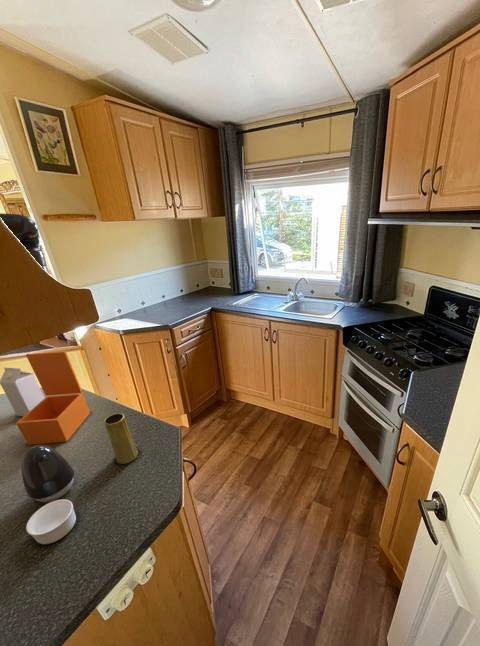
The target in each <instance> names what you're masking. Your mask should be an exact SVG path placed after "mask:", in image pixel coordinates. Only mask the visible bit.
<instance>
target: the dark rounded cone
mask: <svg viewBox="0 0 480 646" xmlns="http://www.w3.org/2000/svg"><path fill="white" fill-rule="evenodd" d="M21 476H22V478H21V479H22V482H23V483H22V484H23V486H24V490H25V492H26V495H27V496H28V497H29V498H31V499H33V500H35V501H36V502H40V503H50V502H53V501H56V500H59V499H60V498H61V497H63V496H64V495H66V494H67V493H68V492H69V491H70V489H71V488H72V485H73V483H74V479H75V478H74V477H75V471H74V468H73V467H72V465H71V464H70V462H69V461H68V460H67V459H66V458H65V457H64V456H63V455H62V454H61V453H59V451H58V450H55V449H54V448H52V447H51V446H48V445H46V444H36V445H34V446H31V447H30V448H28V449H27V451H26V452H25V453H24V454H23V457H22V461H21Z"/></svg>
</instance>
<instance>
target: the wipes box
mask: <svg viewBox="0 0 480 646" xmlns="http://www.w3.org/2000/svg"><path fill="white" fill-rule="evenodd" d="M90 414H91V412H90V409H89V407H88V404H87V402H86V399H85V397H84V394H83V393H74V394H62V395H49V396H45V397H44V399H43V400H42V401H41V402H40V403H39V404H38V405H36V406H35V407H34V408H33V409H32V410H31V411H30V412H28V413H27V414H26V415H25V416H22V417H21V418H20V419H19V420H18V421H17V422H16V423H15V425H16V427H18V430H19V431H20V433H21V436H22V437H23V439H24V441H25V443H26V444H27V445H28V446H29V445H43V444H52V443H54V444H55V443H64V442H68V441H69V440H70V438H71V437H72V436H73V435H74V434H75V433H76V432H77V430H78V429H79V427H80V426H81V425H82V424H83V423H84V422H85V420H86V419H87V418H88V416H89V415H90Z"/></svg>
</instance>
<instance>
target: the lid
mask: <svg viewBox="0 0 480 646" xmlns="http://www.w3.org/2000/svg"><path fill="white" fill-rule="evenodd" d="M25 356H26V359H27V360H28V363H29V364H30V366H31V369H32V371H33V372H34V373H33V374H34V376H35V378H36V380H37V382H38V384H39V386H40V387H41V390H42V391H43V394H44V395H45V397H47V396H57V395H70V394H83V390H82V387H81V384H80V382H79V379H78V378H77V375H76V373H75V370H74V368H73V365H72V363H71V360H70V358H69V355H68V353H67V351H66V350H63V351H48V352H36V353H26V354H25Z"/></svg>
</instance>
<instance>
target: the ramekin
mask: <svg viewBox="0 0 480 646" xmlns="http://www.w3.org/2000/svg"><path fill="white" fill-rule="evenodd" d="M76 521H77V515H76V513H75V509H74V504H73V502H72V501H71V500H69V499H66V498H65V499H64V498H63V499H56V500H53V501H50V502H47V504H45V505H43V506H42V507H40V508H39V509H38V510H36V511H35V512H34V513H33V514H32V515H31V516H30V517H29V519H28V520H27V522H26V526H25V531H26V532H27V534H29V536H31V537H32V538H33V539H34V540H35V541H36V543H38V544H41V545H48V544H49V545H50V544H52V543H55V542H57V541H59V540H61V539H63V538H64V537H65V536H67V534H69V532H71V531H72V529H73V528H74V526H75V524H76Z"/></svg>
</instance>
